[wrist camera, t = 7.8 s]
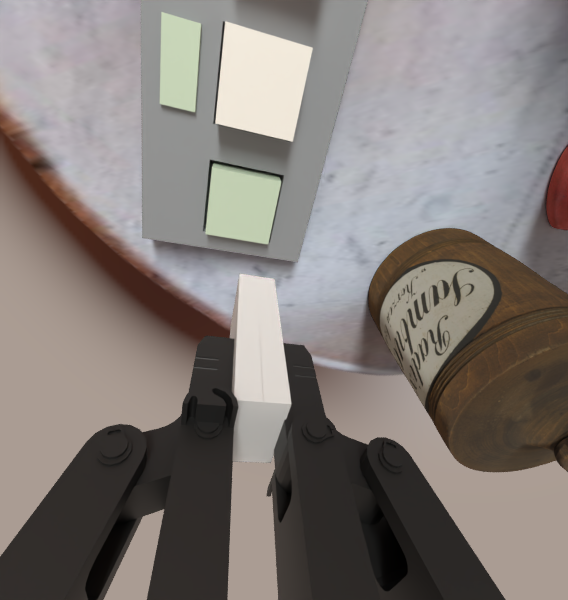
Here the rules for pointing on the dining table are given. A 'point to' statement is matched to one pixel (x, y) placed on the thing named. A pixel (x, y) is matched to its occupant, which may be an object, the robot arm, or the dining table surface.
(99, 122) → the dining table surface
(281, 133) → the off-white key
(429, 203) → the dining table surface
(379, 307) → the wooden container
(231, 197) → the sage green key
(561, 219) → the stacking bear
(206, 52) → the console
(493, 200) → the dining table surface
